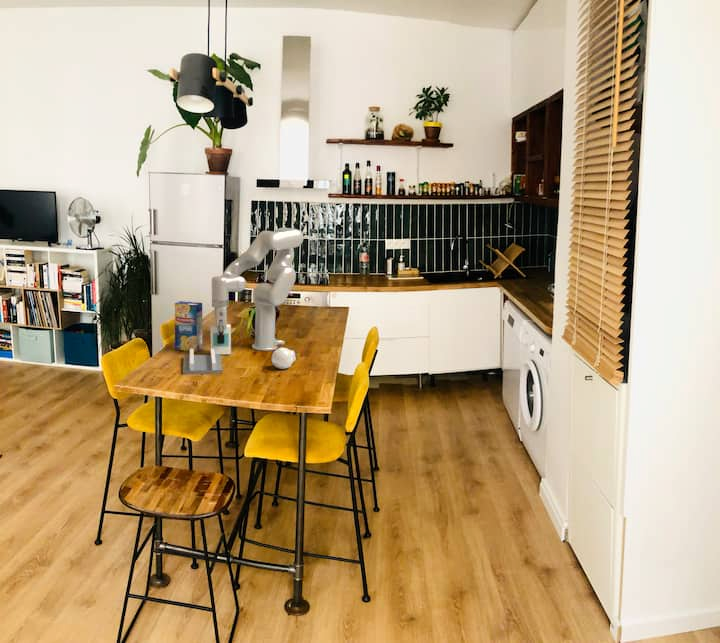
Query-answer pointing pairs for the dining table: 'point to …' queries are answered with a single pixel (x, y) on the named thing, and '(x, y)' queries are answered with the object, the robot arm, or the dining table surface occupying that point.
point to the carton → (226, 346)
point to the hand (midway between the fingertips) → (220, 341)
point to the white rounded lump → (283, 358)
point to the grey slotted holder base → (202, 363)
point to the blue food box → (188, 325)
